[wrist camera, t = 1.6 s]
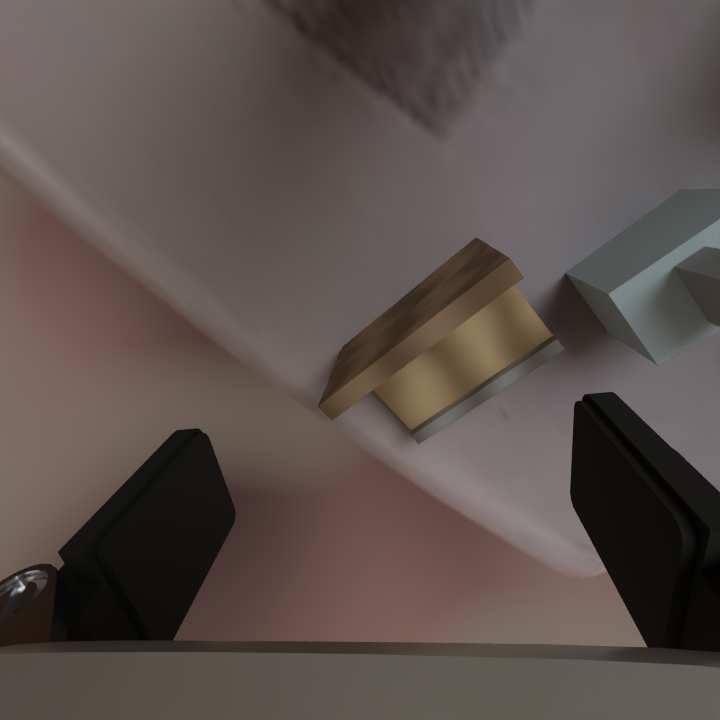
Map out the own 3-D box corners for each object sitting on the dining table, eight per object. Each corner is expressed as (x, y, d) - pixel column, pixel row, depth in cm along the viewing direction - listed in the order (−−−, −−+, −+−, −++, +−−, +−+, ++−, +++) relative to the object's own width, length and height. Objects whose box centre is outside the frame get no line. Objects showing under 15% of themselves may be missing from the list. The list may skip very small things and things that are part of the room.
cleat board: (476, 237, 34) (509, 258, 23) (552, 337, 37) (615, 399, 26) (342, 347, 39) (317, 406, 28) (417, 427, 42) (422, 510, 31)
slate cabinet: (680, 189, 31) (851, 187, 19) (720, 257, 33) (901, 294, 21) (565, 272, 34) (649, 314, 22) (606, 330, 36) (706, 398, 24)
